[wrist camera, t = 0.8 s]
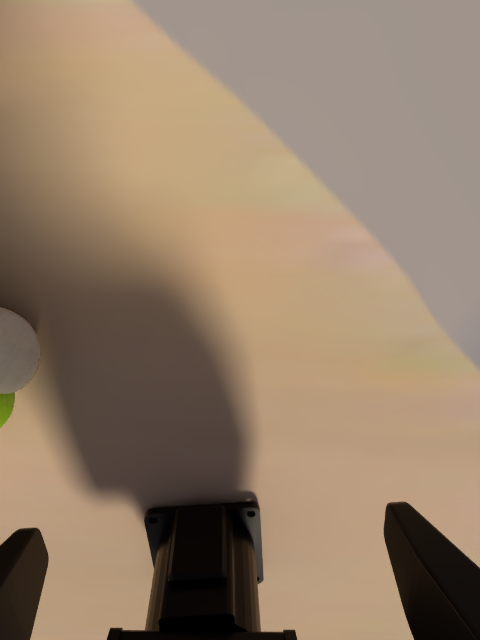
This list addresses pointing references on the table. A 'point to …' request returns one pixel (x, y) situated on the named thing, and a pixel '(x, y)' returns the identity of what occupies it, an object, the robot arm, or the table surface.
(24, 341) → the multicolored petal rattle
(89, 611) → the table surface
